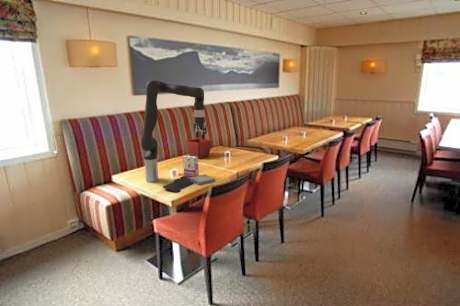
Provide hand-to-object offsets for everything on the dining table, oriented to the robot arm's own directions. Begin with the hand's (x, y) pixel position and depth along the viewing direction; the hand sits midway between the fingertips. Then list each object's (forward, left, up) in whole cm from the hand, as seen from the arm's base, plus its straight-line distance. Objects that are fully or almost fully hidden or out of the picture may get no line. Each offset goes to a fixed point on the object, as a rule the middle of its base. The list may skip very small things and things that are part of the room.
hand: (200, 138), depth 214 cm
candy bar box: (-14, -1, -32) cm, 35 cm away
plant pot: (-65, +36, -32) cm, 81 cm away
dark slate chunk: (-1, -19, -33) cm, 38 cm away
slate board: (0, 0, -32) cm, 32 cm away
